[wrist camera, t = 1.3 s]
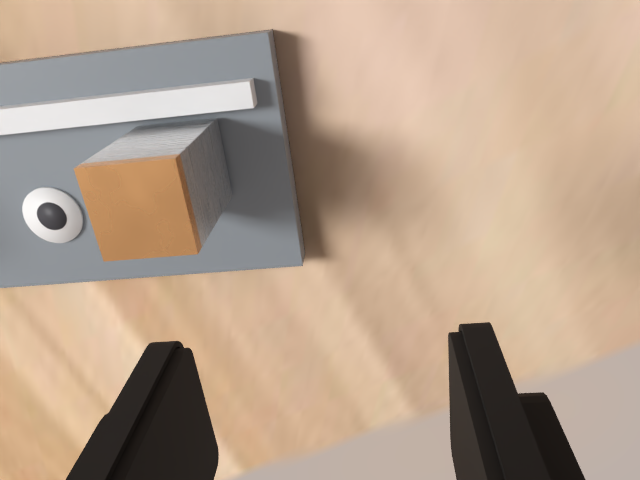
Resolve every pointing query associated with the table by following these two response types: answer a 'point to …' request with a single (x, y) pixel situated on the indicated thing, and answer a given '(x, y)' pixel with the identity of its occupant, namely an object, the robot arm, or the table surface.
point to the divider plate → (118, 119)
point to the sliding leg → (156, 190)
